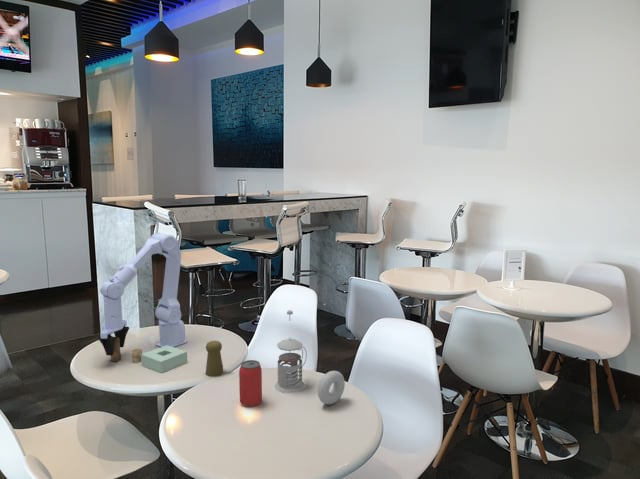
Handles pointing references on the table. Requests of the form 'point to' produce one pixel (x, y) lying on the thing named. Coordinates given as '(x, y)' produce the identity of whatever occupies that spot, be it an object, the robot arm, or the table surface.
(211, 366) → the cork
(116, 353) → the long pin
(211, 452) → the table surface
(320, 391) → the donut
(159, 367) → the collar block
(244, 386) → the beer can
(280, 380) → the french press
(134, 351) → the short pin
